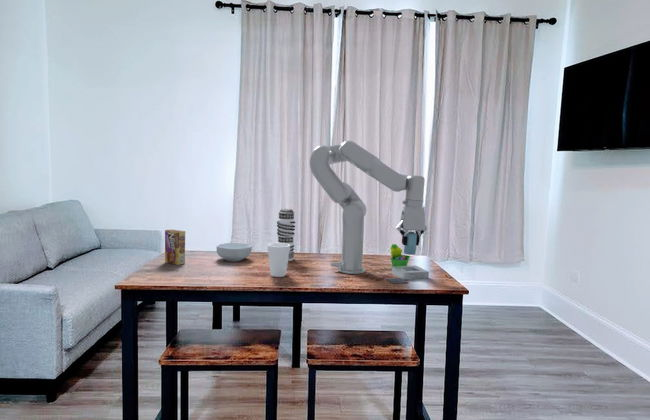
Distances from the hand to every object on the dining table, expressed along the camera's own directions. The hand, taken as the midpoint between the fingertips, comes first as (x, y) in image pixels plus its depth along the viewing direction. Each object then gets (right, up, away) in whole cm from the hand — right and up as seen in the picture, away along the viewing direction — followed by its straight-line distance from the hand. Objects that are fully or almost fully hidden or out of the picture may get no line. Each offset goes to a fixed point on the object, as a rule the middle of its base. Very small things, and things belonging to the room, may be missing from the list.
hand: (410, 244), depth 192 cm
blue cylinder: (0, -4, 0) cm, 4 cm away
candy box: (-107, -10, +9) cm, 108 cm away
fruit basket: (-2, -13, +16) cm, 21 cm away
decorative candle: (-57, -9, +26) cm, 64 cm away
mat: (-7, -15, -9) cm, 19 cm away
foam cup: (-58, -13, -5) cm, 59 cm away
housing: (0, -14, +1) cm, 14 cm away
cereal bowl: (-82, -9, +21) cm, 85 cm away
